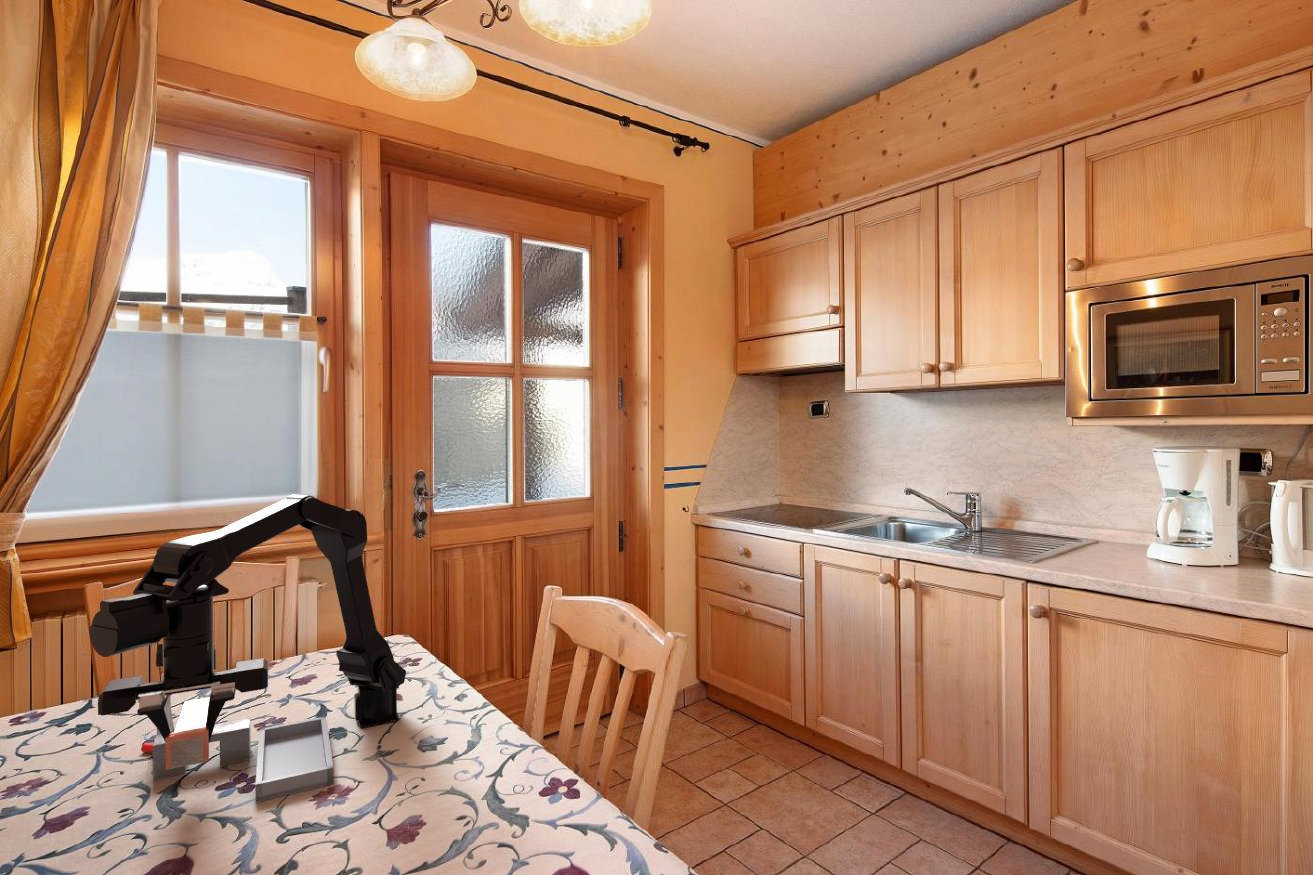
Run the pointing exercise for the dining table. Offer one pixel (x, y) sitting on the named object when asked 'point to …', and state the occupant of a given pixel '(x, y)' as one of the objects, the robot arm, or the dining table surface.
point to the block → (229, 734)
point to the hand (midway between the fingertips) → (190, 746)
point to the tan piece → (189, 736)
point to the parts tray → (293, 758)
